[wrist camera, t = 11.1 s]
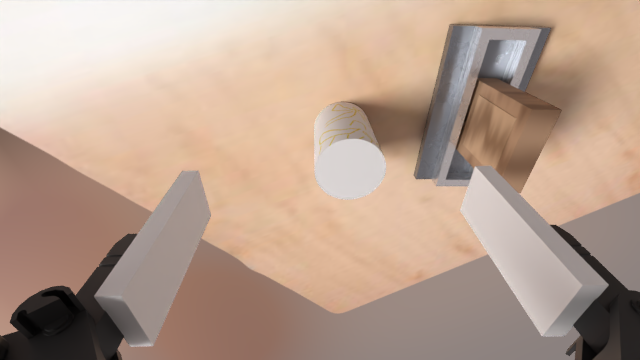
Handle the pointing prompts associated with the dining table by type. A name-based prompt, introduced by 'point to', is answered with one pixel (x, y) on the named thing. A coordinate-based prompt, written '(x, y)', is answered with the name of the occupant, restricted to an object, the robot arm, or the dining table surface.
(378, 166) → the yellow-veined white cylinder
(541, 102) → the door panel
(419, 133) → the dining table surface
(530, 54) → the track
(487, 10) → the dining table surface
